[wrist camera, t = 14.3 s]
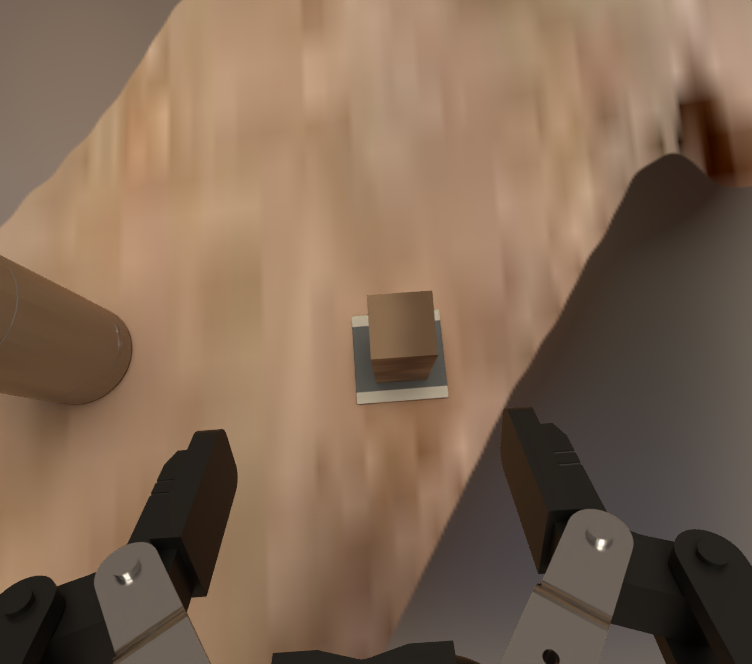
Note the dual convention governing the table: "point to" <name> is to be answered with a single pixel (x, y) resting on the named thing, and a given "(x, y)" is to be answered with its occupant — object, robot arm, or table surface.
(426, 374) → the block
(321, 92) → the table surface
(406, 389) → the mat
